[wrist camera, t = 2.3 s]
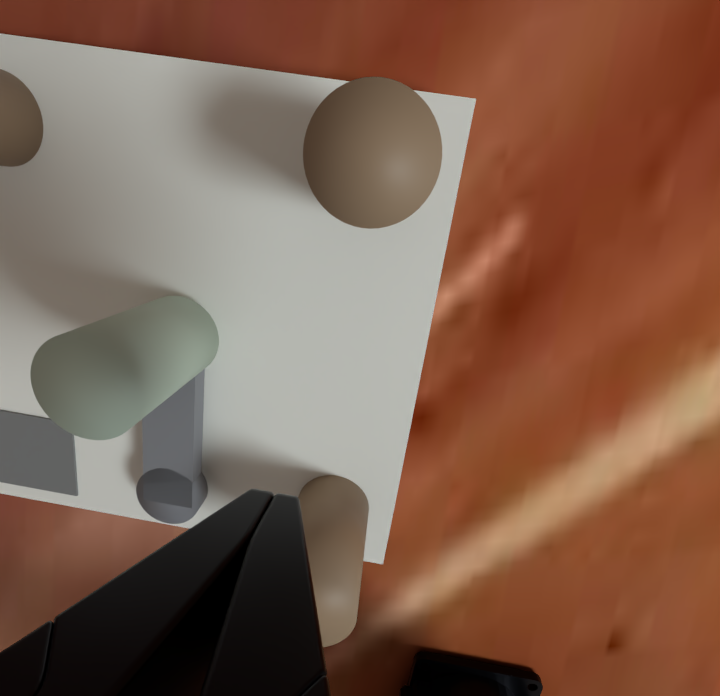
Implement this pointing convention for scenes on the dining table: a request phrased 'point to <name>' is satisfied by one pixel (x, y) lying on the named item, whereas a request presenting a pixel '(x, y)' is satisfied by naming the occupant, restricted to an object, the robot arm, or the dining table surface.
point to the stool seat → (230, 274)
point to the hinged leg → (138, 393)
